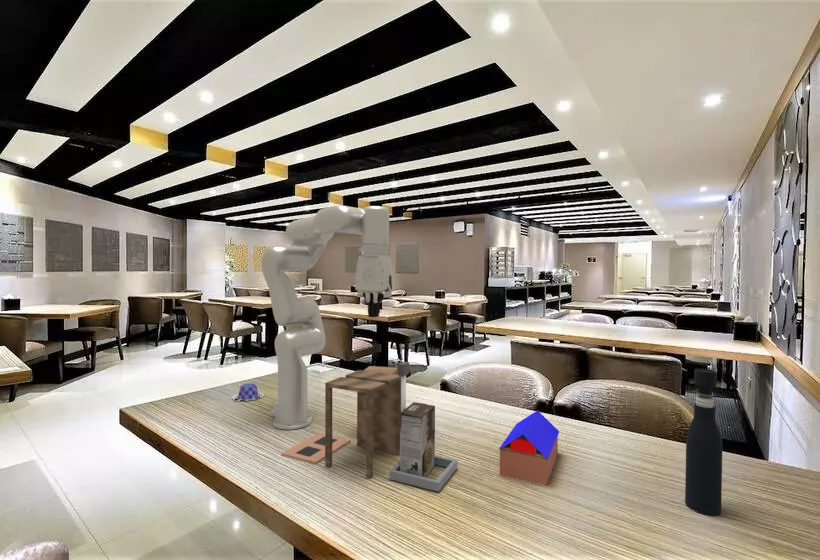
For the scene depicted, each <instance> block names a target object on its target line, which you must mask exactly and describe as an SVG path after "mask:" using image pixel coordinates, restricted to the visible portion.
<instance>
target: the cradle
mask: <svg viewBox="0 0 820 560" xmlns="http://www.w3.org/2000/svg"><path fill="white" fill-rule="evenodd" d="M397 368H398V376H401V412H402V411H403V410H405V409H406V408H407V405H406V404H407V376H408V375H409V374H410V362H409V361H408V362H407V361H402V362H399V363H398V364H397ZM434 466H440V467H444V468H445V469H444V470H443V472H442V473H441V474H440V475H439V476H438V477H437V479H432V478H430V477H421V476H417V475H413V474H409V473H405V472H401V471H400V461H398V462H397V464H395V465H394V466H392V468H391V469H389V470H388V471H389V473H388V479H389V480H391V481H396V482H400V483H403V484H407V485H411V486H414V487H415V486H416V487H419V488H422V489H426V490H430V491H435V492H440V490H441V489H442V488H443V487H444V486H445V484H446V483H447V482H448V480H450V478H451V477H452V476H453V474H454V472H455V471H456V470H457V468H458V459H453V458H449V457H444V456H442V455H441V456H440V455H436V454H435V465H434Z"/></svg>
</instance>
